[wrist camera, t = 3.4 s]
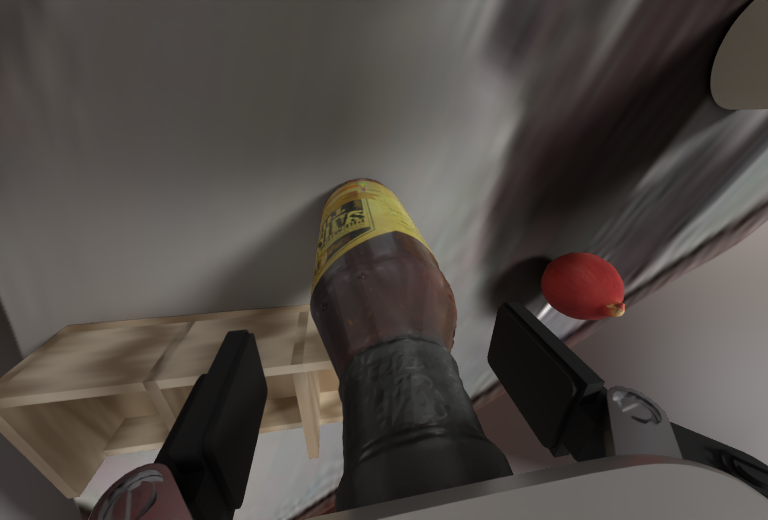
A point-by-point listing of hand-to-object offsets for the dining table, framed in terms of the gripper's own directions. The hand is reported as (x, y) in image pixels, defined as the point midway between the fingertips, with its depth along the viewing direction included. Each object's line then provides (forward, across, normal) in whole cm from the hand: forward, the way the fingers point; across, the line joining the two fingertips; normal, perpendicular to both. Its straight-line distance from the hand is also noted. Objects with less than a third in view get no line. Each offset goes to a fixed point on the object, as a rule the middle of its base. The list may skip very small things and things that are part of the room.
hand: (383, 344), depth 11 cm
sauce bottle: (+14, 0, -1) cm, 14 cm away
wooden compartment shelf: (+14, +10, +13) cm, 22 cm away
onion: (+14, -20, +5) cm, 24 cm away
